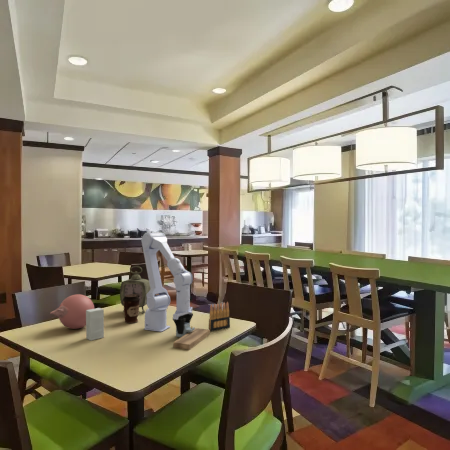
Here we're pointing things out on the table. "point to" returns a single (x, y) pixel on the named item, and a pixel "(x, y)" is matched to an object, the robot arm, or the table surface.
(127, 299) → the coffee cup
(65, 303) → the balloon
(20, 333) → the table surface
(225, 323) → the ammunition clip
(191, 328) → the grey stepped block
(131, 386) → the table surface
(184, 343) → the board
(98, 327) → the skincare box
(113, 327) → the table surface
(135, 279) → the tabletop clock
